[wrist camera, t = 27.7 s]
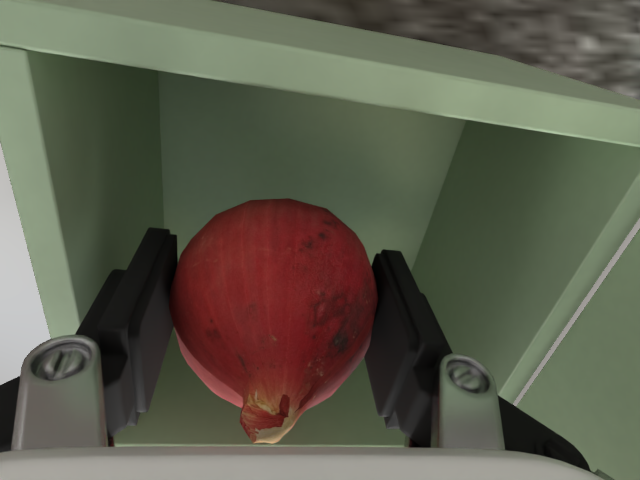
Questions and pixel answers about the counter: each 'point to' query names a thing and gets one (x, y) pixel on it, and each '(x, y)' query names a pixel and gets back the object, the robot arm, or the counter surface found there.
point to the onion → (273, 309)
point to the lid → (598, 376)
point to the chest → (310, 176)
